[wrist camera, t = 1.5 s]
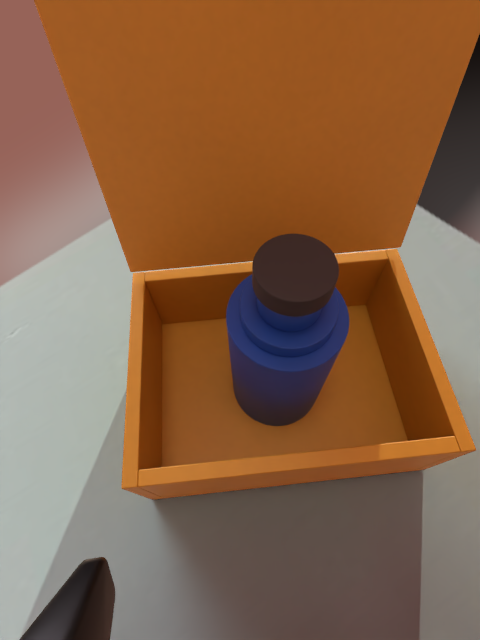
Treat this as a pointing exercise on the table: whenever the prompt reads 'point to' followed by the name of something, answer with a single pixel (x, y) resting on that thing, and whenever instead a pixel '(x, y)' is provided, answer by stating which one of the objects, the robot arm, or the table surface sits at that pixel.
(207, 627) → the table surface
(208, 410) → the box
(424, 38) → the lunchbox lid
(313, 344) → the bottle
